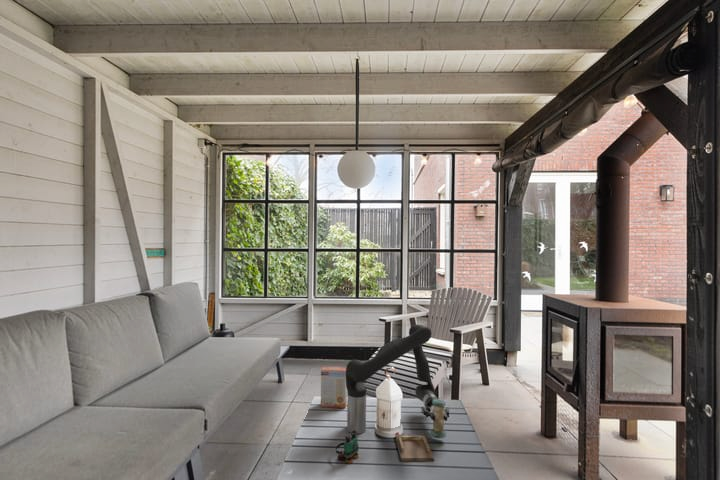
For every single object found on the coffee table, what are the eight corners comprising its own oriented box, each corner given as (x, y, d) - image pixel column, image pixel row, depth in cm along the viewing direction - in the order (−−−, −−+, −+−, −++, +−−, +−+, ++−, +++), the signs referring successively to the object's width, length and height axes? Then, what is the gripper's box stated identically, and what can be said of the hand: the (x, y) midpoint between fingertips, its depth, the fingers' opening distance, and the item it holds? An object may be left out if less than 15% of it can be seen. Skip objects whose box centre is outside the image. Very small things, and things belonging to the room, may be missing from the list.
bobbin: (432, 438, 178) (433, 404, 179) (429, 430, 185) (429, 398, 186) (447, 438, 179) (448, 404, 179) (443, 431, 186) (444, 398, 186)
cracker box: (346, 404, 222) (347, 367, 222) (345, 408, 216) (345, 370, 216) (322, 402, 223) (322, 366, 223) (320, 407, 217) (320, 369, 217)
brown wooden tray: (401, 460, 164) (401, 454, 164) (395, 437, 184) (395, 431, 184) (434, 460, 165) (434, 454, 165) (424, 437, 185) (424, 431, 185)
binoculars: (341, 427, 173) (361, 430, 168) (343, 451, 173) (362, 456, 168) (329, 435, 166) (349, 439, 161) (331, 461, 165) (351, 465, 160)
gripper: (417, 396, 196) (424, 410, 179) (446, 396, 197) (455, 410, 180) (417, 411, 196) (424, 427, 179) (445, 411, 197) (455, 427, 180)
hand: (440, 418), depth 180 cm, fingers closed on bobbin, 4 cm apart
